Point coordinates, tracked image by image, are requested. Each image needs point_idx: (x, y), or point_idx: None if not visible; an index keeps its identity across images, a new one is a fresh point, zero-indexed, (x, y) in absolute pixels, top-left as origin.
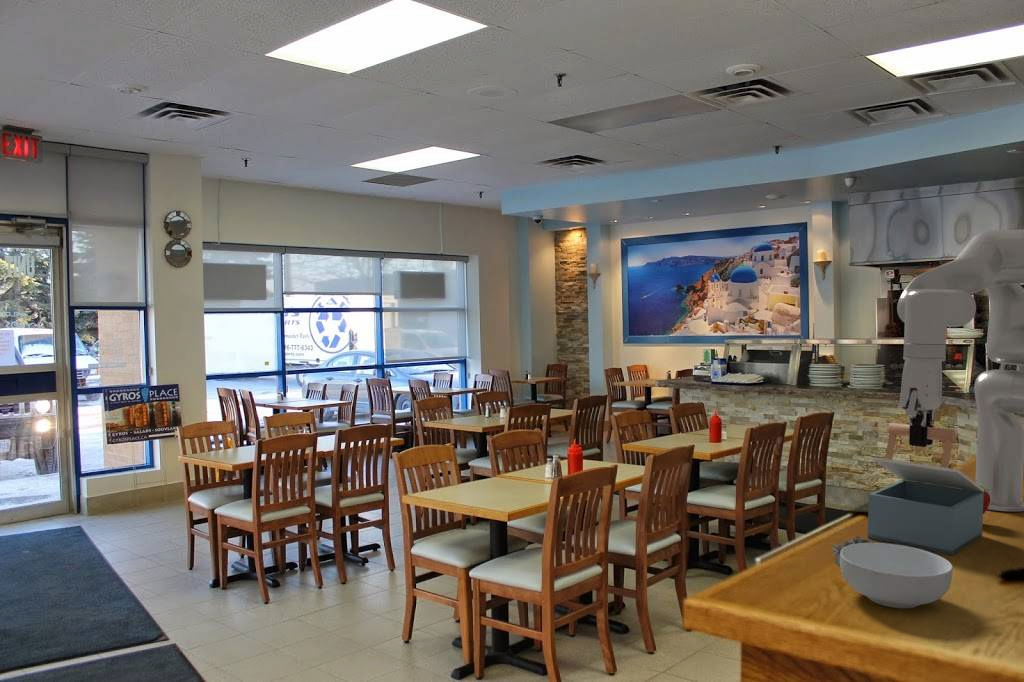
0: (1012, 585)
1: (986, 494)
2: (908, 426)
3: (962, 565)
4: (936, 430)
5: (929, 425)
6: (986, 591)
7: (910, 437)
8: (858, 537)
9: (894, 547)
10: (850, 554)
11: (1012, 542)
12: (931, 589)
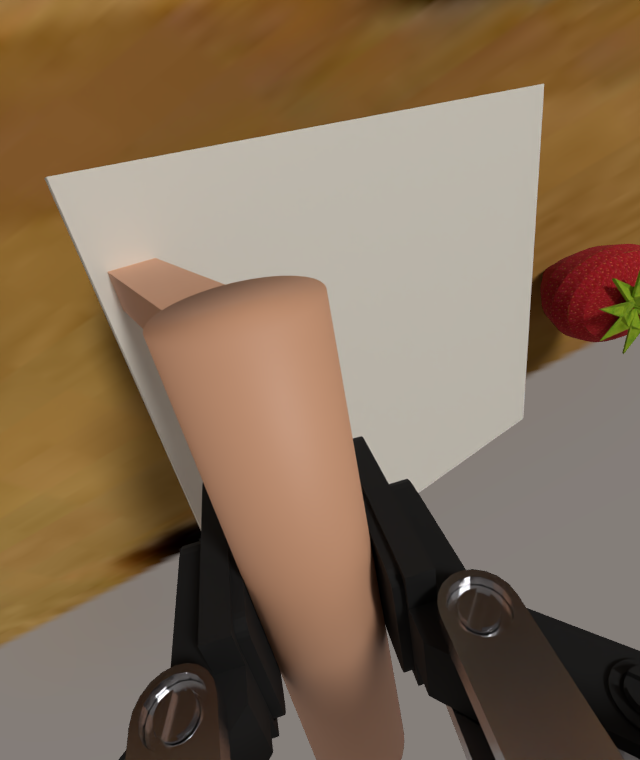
0: (138, 571)
1: (614, 338)
2: (258, 570)
3: (160, 467)
4: (314, 728)
5: (414, 664)
6: (48, 576)
7: (202, 534)
8: None
9: None
10: None
11: None
12: None
